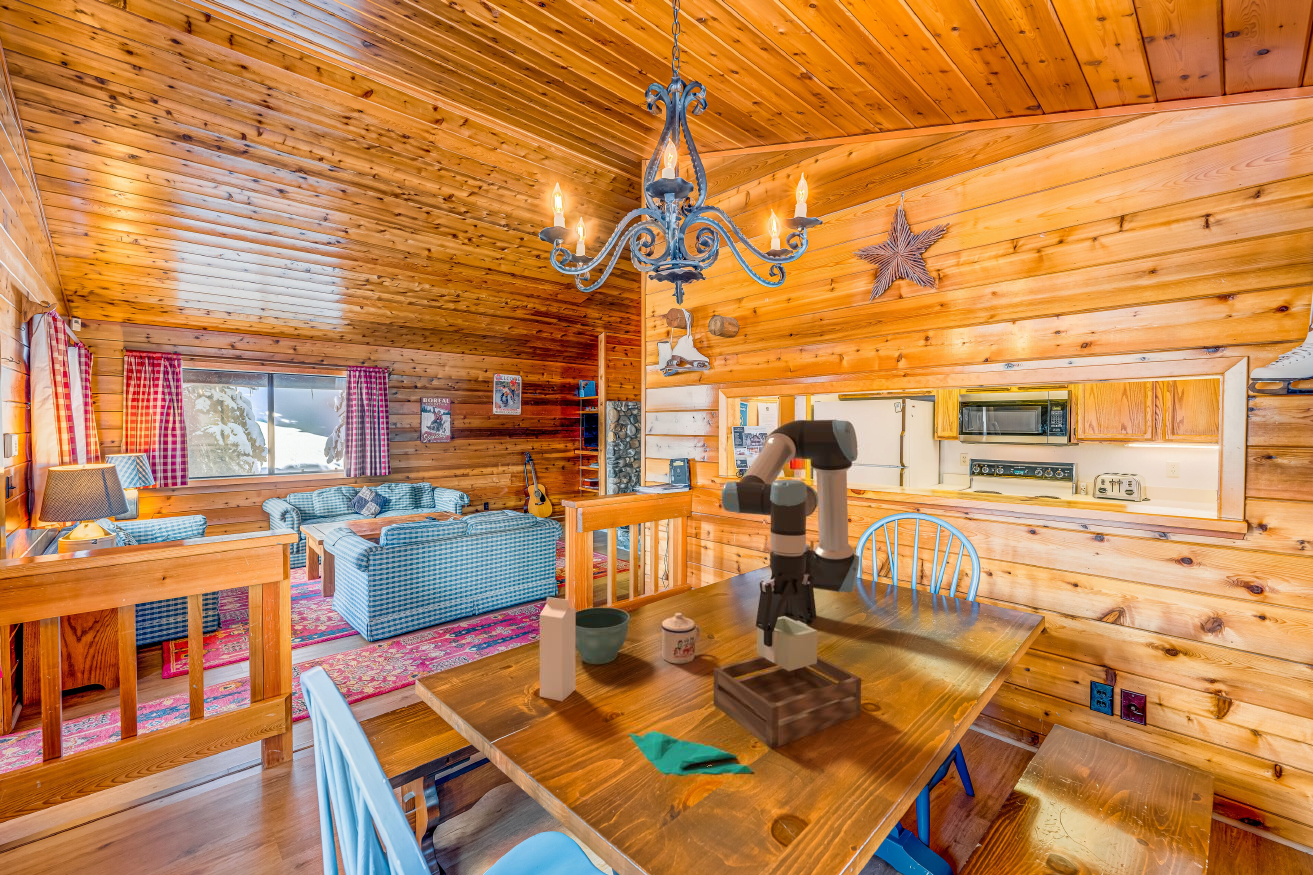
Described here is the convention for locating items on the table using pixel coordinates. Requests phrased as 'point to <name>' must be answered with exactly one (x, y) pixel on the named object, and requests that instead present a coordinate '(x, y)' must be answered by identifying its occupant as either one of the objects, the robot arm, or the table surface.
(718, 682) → the crate
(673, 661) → the teacup with lid
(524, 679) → the table surface
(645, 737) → the cloth
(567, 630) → the milk
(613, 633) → the flower pot
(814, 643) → the small crate
